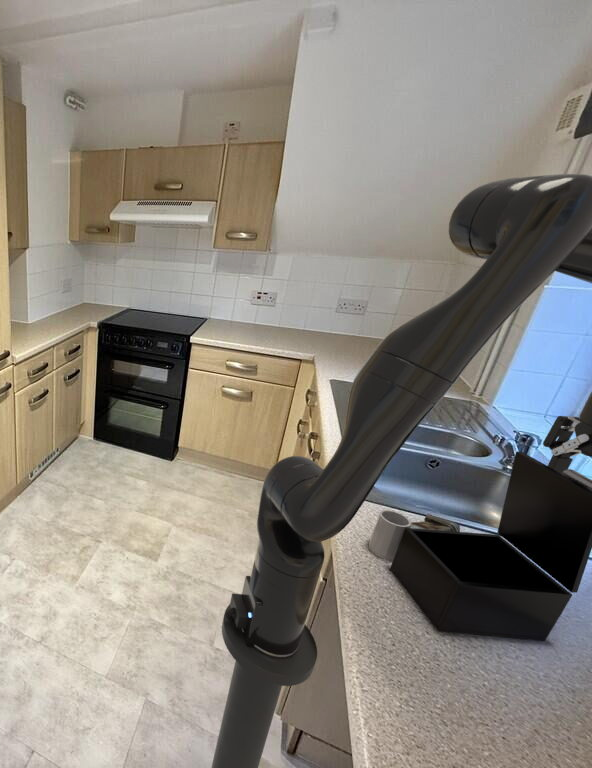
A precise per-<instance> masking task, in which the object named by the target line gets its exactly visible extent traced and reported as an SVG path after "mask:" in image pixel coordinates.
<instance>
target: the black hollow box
mask: <svg viewBox="0 0 592 768" xmlns="http://www.w3.org/2000/svg"><path fill="white" fill-rule="evenodd" d="M389 571H390V572H391V573H392V575H393V576H394V577H395V578H396V579H397V581H398V582H399V583H400V584H401V585H402V587H403V589H405V591H406V593H407V594H408V595H409V596H410V597H411V598H412V600H413V601H414V602H415V604H416V605H417V606H418V608H419V609H420V610H421V611H422V612H423V614H424V616H426V617H427V619H428V620H429V621H430V622H431V624H432V625H433V626H434V628H435V629H436V630H437V631H438V632H440V633H453V634H462V635H473V636H484V637H493V638H503V639H504V638H505V639H514V640H515V639H516V640H526V641H527V640H528V641H538V642H546V640H547V638H549V635H550V634H551V632H552V630H553V628H554V627H555V626H556V624H557V622H558V620H559V619H560V617H561V615H562V614H563V612H564V610H565V609H566V607H567V605H568V603H569V602H570V600H571V598H572V597H573V593H571V592H570V591H569V590H568V589H566V588H565V587H564V586H563V585H561V584H560V583H559V582H558V581H556V580H555V579H554V578H553V577H551V576H550V575H549V574H548V573H547V572H545V571H544V570H543V569H542V568H540V567H539V566H538V565H537V564H535V563H534V562H533V561H532V560H530V559H529V558H528V557H527V556H525V555H524V554H523V553H522V552H521V551H519V550H518V549H517V548H516V547H514V546H513V545H512V544H511V543H509V542H508V541H507V540H506V539H504V538H503V537H502V536H501V535H499V534H493V533H480V532H467V531H460V532H455V531H442V530H429V529H416V528H405V530H404V532H403V535H402V538H401V540H400V543H399V546H398V548H397V551H396V554H395V556H394V559H393V560H392V562H391V564H390V567H389Z"/></svg>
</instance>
